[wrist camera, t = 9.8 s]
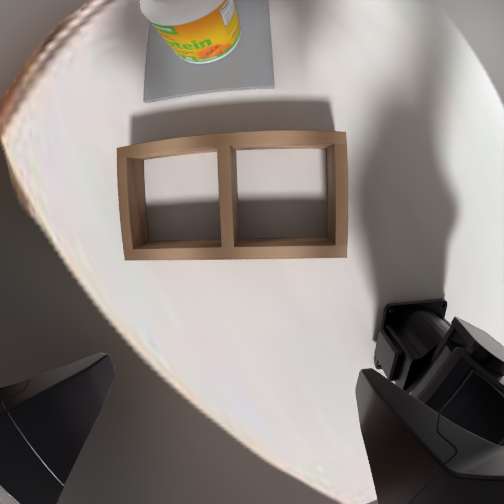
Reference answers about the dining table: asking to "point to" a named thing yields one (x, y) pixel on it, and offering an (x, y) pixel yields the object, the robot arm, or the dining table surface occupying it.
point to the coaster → (218, 72)
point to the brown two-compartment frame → (232, 198)
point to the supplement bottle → (195, 27)
